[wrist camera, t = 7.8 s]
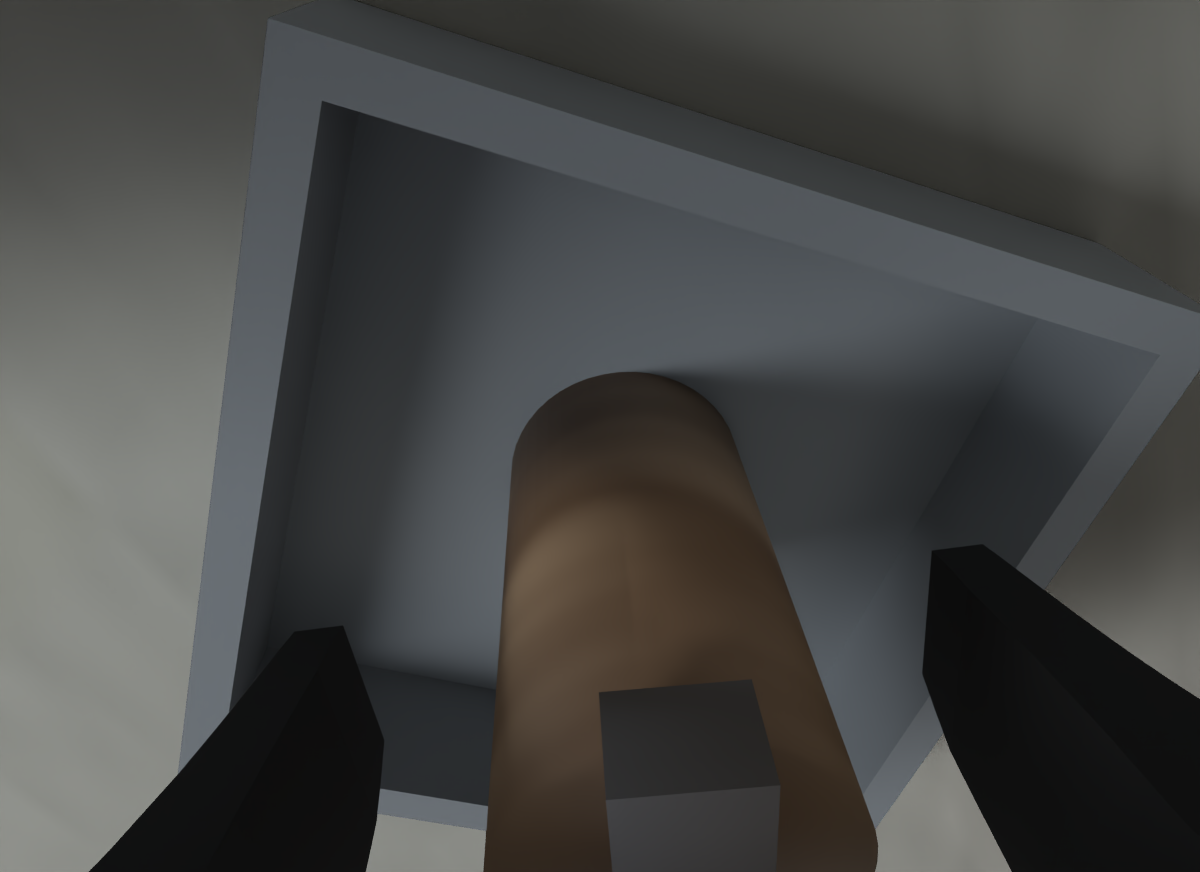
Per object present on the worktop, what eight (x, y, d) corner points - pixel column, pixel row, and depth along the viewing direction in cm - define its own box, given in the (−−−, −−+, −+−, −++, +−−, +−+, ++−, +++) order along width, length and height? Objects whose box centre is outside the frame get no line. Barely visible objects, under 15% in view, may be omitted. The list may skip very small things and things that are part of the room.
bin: (237, 644, 16) (177, 781, 14) (334, -7, 11) (268, 18, 9) (795, 749, 18) (835, 885, 16) (1100, 243, 13) (1232, 324, 11)
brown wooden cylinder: (527, 600, 15) (510, 1150, 8) (493, 344, 13) (429, 814, 6) (736, 583, 15) (889, 1117, 9) (739, 325, 13) (955, 771, 6)
